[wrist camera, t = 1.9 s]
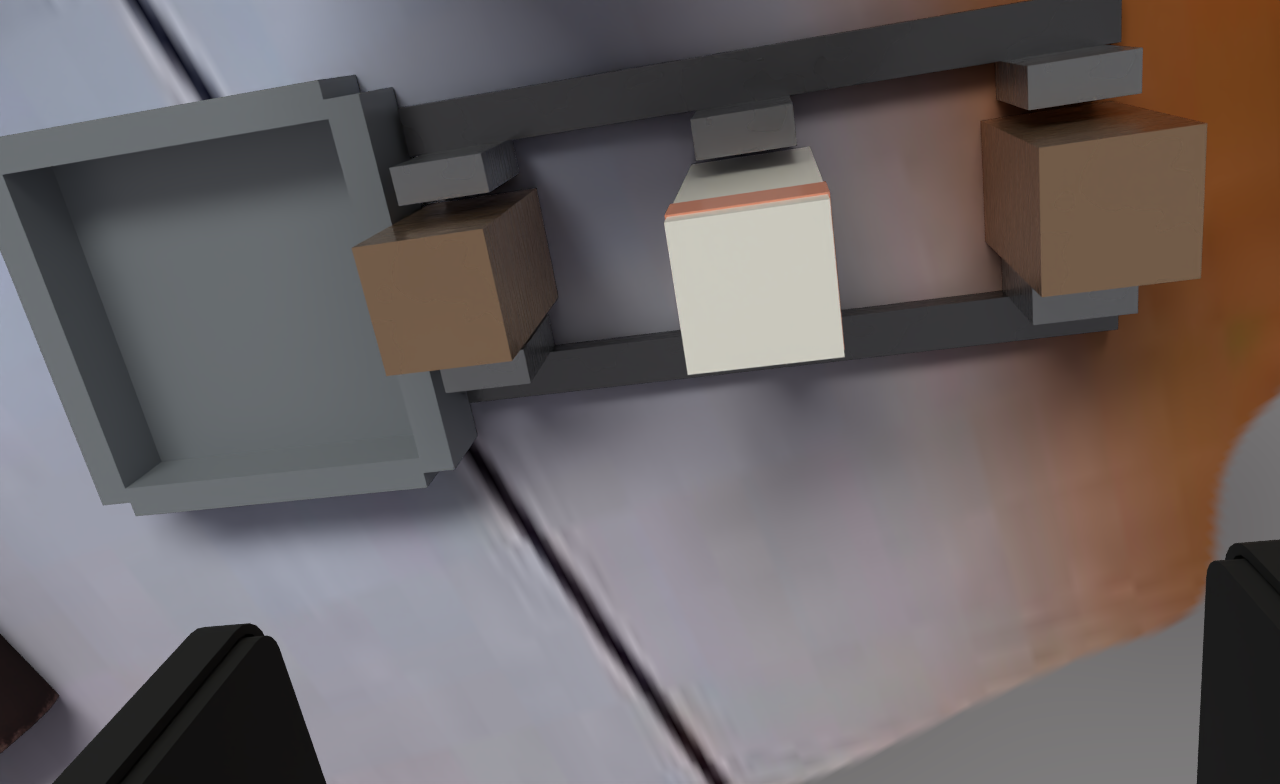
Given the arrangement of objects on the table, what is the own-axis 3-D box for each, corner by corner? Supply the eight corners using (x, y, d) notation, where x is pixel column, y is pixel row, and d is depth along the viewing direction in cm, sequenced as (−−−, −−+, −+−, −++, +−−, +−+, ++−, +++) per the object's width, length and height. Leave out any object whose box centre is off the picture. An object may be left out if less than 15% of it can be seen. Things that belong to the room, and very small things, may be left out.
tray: (388, 69, 32) (353, 73, 30) (480, 450, 37) (458, 484, 35) (21, 134, 35) (-43, 144, 32) (153, 484, 40) (108, 518, 37)
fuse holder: (1112, -15, 29) (1213, -24, 23) (1109, 322, 33) (1195, 397, 26) (405, 106, 33) (318, 128, 26) (475, 395, 37) (413, 476, 30)
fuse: (811, 144, 32) (831, 196, 23) (822, 263, 33) (847, 358, 24) (689, 163, 32) (661, 220, 23) (706, 279, 34) (686, 376, 25)
